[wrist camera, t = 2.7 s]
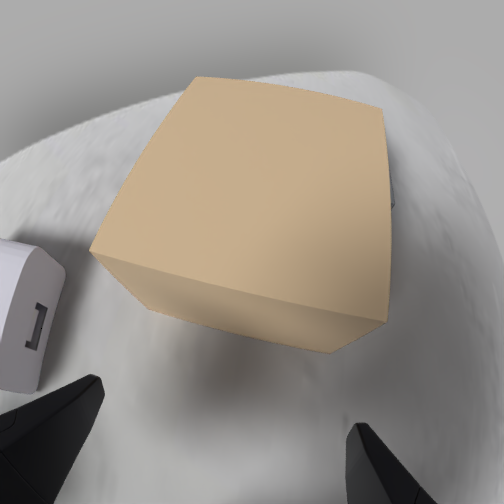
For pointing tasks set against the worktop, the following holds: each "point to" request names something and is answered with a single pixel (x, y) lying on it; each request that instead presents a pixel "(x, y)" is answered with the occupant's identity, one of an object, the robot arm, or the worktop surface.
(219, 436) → the worktop surface
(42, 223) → the worktop surface
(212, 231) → the kraft carton
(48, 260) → the charger
